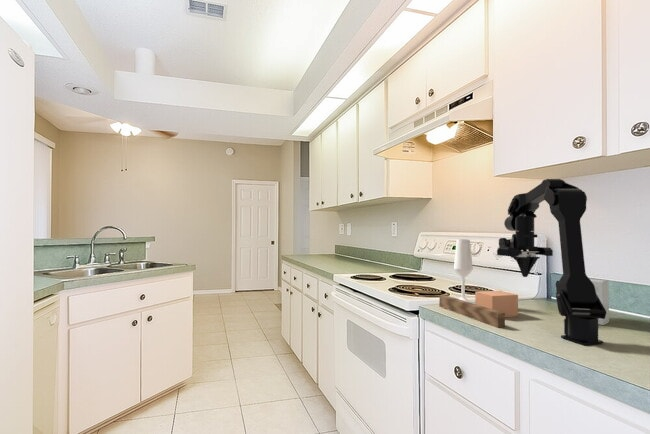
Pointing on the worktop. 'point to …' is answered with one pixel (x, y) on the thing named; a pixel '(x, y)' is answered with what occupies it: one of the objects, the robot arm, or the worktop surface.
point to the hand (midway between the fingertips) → (524, 276)
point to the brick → (498, 301)
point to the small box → (602, 297)
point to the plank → (473, 311)
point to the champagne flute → (463, 262)
